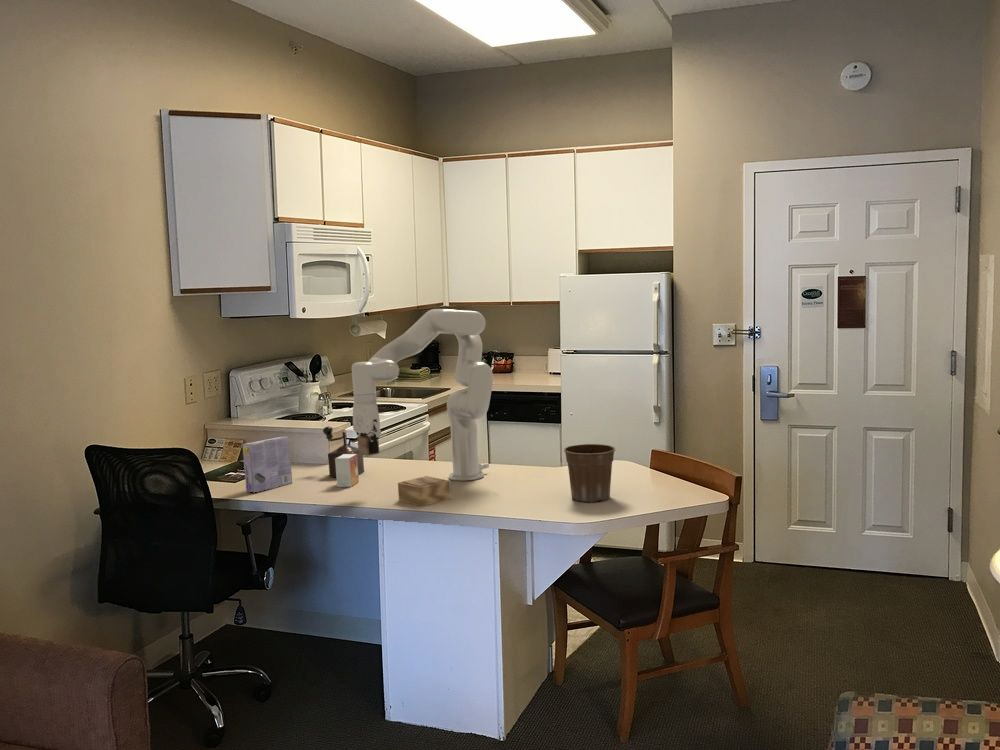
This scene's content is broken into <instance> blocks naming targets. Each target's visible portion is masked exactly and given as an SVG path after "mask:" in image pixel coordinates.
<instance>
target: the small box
mask: <svg viewBox="0 0 1000 750" xmlns="http://www.w3.org/2000/svg"><path fill="white" fill-rule="evenodd" d="M335 464H336V478H335V479H336V488H346V487H348V488H352V487H353V486H354V485H357V484H358V483H359V482H360V480H359V476H358V461H357V454H343V455H341V456H339V457H338V458H335Z"/></svg>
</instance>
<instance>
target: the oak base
mask: <svg viewBox="0 0 1000 750" xmlns="http://www.w3.org/2000/svg"><path fill="white" fill-rule="evenodd" d="M397 488H398V490H397V492H398V501H399V502H404V503H408V504H411V505H416V506H418V507H423V505H424V506H426V505H427V504H428V505H431V504H434V503H438V502H442V501H446V500H450V499H451V493H450V492H451V489H450V480H446V479H444V478H443V479H442V478H438V477H433V476H429V475H428V476H427V475H425V476H424V475H423V476H421V477H417V478H412V479H407V480H404V481H400V482H397Z"/></svg>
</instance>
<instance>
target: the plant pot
mask: <svg viewBox="0 0 1000 750" xmlns="http://www.w3.org/2000/svg"><path fill="white" fill-rule="evenodd" d="M563 451H564V453H565V459H566V463H567V467H568V476H569V483H570V484H569V485H570V486H569V487H570V492H571V493H570V495H571V499H572V500H575V501H577V502H582V503H598V501H600V502H605V501H607V500H609V499H610V498H611V486H612V485H611V483H612V471H613V470H612V468H613V462H614V455H615V452H616V447H615V446H613V445H609V444H599V443H597V444H596V443H590V444H589V443H585V444H575V445H570V446H566V447H564V448H563Z"/></svg>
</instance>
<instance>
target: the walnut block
mask: <svg viewBox="0 0 1000 750" xmlns="http://www.w3.org/2000/svg"><path fill="white" fill-rule="evenodd" d="M373 435H374V434H372V436H373ZM369 442H370V440H369V436H368V434H367V435H364V436H358V435H357V448H358V452H359V454H360V455H363V456H366V457H368V456H372V455H378V454H380V441H379V440H378V453H373V454H370V453H369Z"/></svg>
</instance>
